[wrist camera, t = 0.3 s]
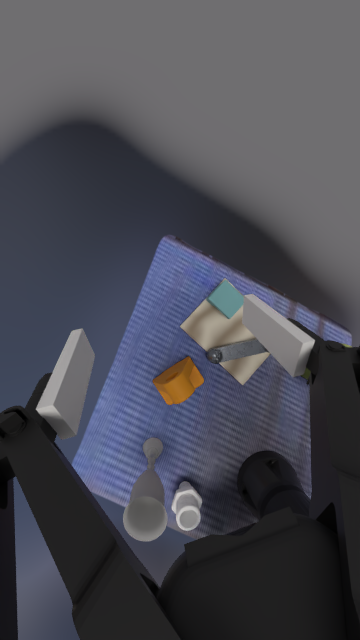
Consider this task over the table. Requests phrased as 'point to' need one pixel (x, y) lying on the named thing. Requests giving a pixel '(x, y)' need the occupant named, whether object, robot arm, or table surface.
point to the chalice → (147, 499)
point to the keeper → (226, 299)
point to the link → (235, 351)
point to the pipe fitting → (187, 506)
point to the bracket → (178, 381)
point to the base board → (223, 337)
